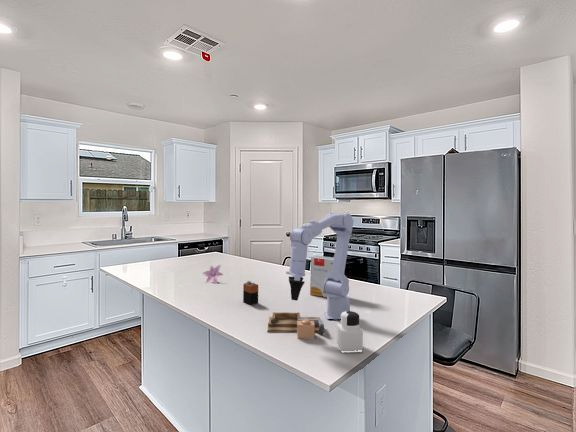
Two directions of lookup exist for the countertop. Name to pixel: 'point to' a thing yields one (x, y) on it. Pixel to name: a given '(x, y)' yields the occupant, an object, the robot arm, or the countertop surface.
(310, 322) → the block with dome
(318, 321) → the gate
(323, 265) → the hard drive box
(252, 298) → the battery
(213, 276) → the lily
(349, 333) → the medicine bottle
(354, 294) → the countertop surface
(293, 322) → the housing
